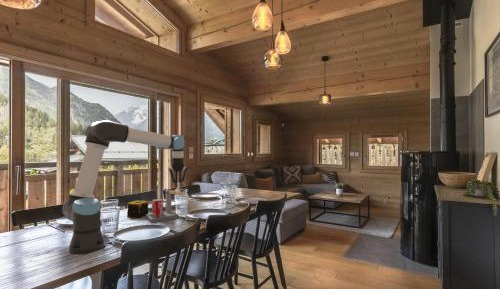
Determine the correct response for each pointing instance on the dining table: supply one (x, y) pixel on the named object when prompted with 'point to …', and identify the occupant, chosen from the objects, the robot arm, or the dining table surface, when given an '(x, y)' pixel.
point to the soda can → (157, 208)
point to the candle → (137, 209)
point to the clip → (175, 192)
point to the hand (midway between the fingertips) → (177, 192)
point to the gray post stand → (167, 214)
